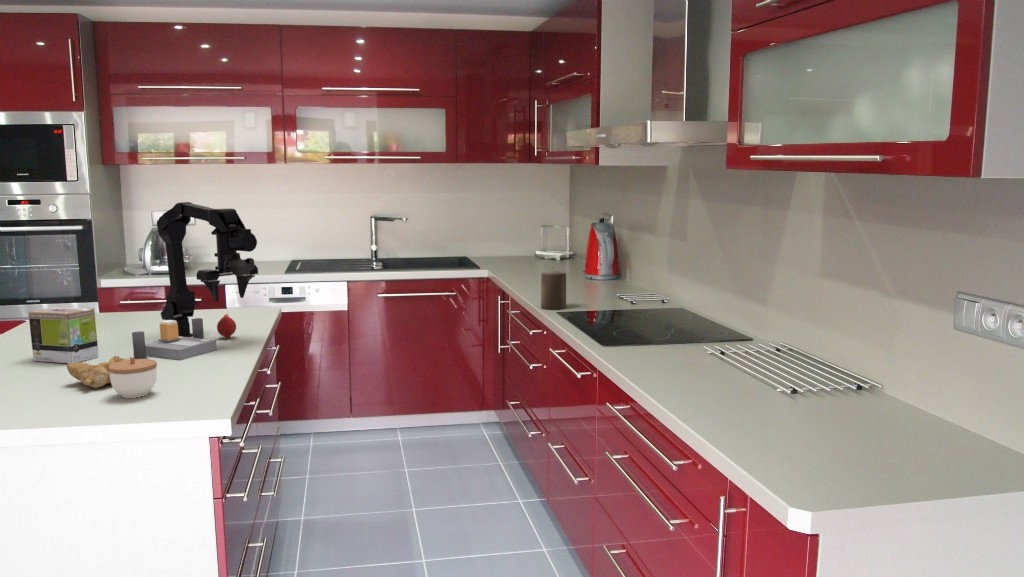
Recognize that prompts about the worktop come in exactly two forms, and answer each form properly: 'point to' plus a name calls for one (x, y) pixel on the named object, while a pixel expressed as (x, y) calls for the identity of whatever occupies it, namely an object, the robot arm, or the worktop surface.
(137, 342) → the cable post
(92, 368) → the ginger root
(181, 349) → the panel
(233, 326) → the onion
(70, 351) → the tea box
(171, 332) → the block
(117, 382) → the lidded jar
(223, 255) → the robot arm
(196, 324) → the cable post
